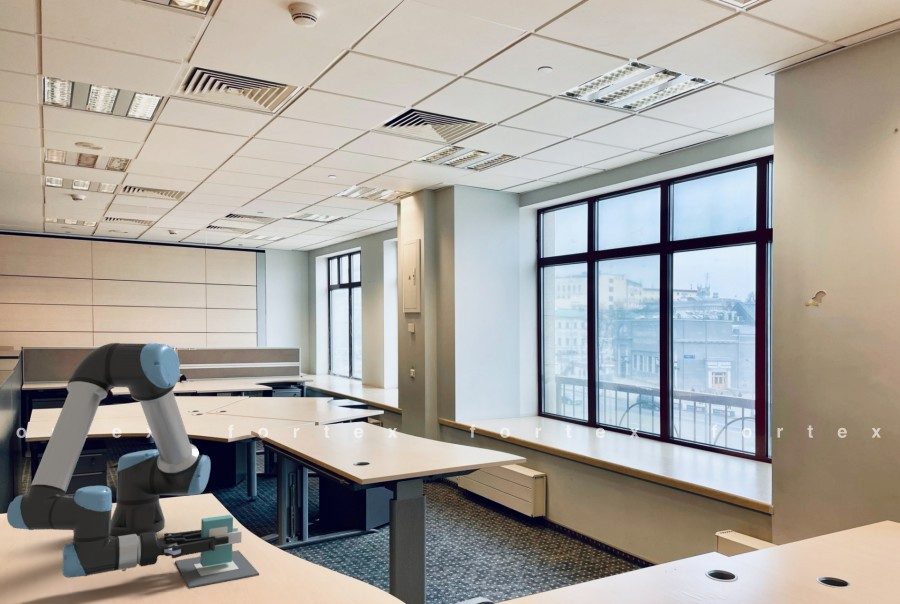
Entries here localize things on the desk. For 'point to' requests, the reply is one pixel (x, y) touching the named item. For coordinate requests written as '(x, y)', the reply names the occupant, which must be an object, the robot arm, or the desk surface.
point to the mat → (215, 570)
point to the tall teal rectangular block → (213, 528)
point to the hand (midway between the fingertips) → (238, 534)
